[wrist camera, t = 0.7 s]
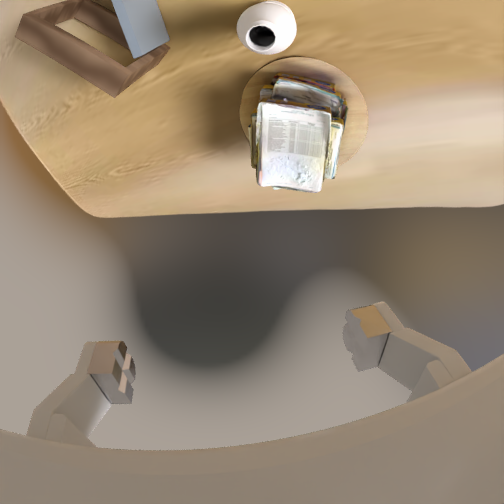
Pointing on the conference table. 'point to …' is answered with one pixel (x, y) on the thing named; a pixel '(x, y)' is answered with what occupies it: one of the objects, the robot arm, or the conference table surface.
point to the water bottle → (267, 27)
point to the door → (141, 25)
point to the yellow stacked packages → (301, 122)
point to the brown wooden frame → (85, 44)
